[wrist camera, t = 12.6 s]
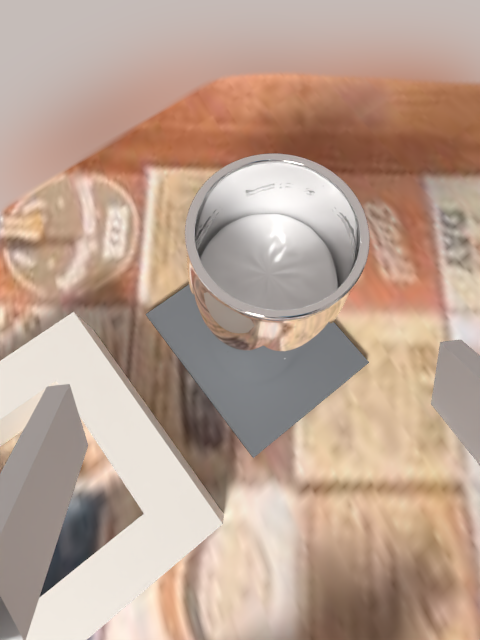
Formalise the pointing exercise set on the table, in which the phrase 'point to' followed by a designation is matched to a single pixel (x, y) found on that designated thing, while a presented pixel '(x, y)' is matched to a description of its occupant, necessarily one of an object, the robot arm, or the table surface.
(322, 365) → the slate coaster
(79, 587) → the board
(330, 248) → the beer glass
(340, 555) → the table surface
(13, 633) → the robot arm
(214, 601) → the table surface
